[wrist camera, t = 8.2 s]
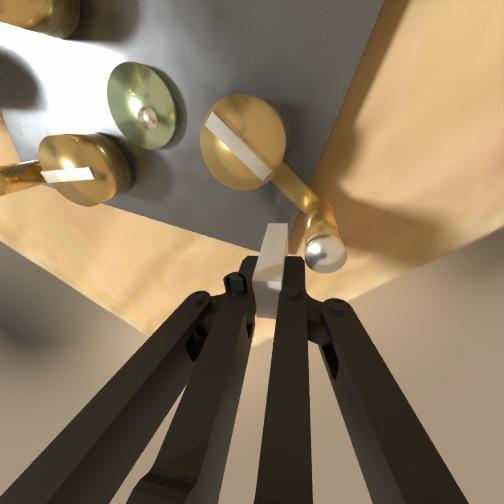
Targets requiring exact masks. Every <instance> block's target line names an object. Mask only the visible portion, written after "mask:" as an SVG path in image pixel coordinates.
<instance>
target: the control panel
mask: <svg viewBox="0 0 504 504" xmlns="http://www.w3.org/2000/svg"><path fill="white" fill-rule="evenodd" d="M80 3H81V9H80V18H79V22H78V25H77V27H76V29H75V31H74V32H73V33H72V34H71V35H70V36H69V37H67V38H63V39H56V38H51V37H48V36H45V35H41V34H38V33H34V32H31V31H28V30H24V29H21V28H18V27H14V26H11V25H7V24H4V23H1V22H0V112H1V114H2V117H3V119H4V122H5V124H6V127H7V129H8V132H9V134H10V137H11V139H12V141H13V144H14V146H15V149H16V151H17V154H18V156H19V159H20V161H21V162H26V161H32V160H38V161H39V157H38V148H39V144H40V142H41V141H42V139H44V138H45V137H47V136H51V135H61V134H72V133H82V132H96V133H99V134H102V135H104V136H105V137H107V138H109V139H110V140H111V141H112V142H114V143H115V144H116V145H117V146H118V148H119V149H120V150H121V151H122V153H123V154H124V156H125V158H126V159H127V162H128V164H129V167H130V171H131V183H130V186H129V188H128V189H127V190H126V191H125V192H124V193H122V194H119V195H117V196H115V197H113V198H111V199H109V200H106V201H104V202H102V203H103V204H106V205H109V206H113V207H116V208H119V209H122V210H125V211H129V212H132V213H135V214H138V215H141V216H145V217H148V218H151V219H154V220H157V221H161V222H164V223H167V224H170V225H173V226H177V227H180V228H183V229H186V230H189V231H193V232H196V233H199V234H202V235H206V236H209V237H212V238H215V239H218V240H222V241H225V242H228V243H231V244H234V245H238V246H241V247H244V248H247V249H250V250H254V251H257V252H260V250H261V247H262V243H263V240H264V236H265V233H266V230H267V226H268V223H288V238H289V236H290V233H291V231H292V228H293V226H294V223H295V221H296V219H297V216H298V214H299V211H300V209H299V208H298V207H297V206H296V205H295V204H294V203H293V202H292V201H291V200H290V199H289V198H288V197H287V196H286V195H285V194H284V193H283V192H282V191H281V190H280V189H279V188H278V187H277V186H276V185H275V184H274V183H273V182H272V181H271V180H269V181H268V182H267V183H266V184H264V185H263V186H261V187H259V188H256V189H253V190H246V191H243V190H235V189H232V188H229V187H227V186H225V185H224V184H222V183H221V182H219V181H218V180H217V179H216V178H215V177H214V176H213V175H212V174H211V172H210V171H209V169H208V168H207V166H206V164H205V162H204V159H203V157H202V153H201V148H200V131H201V127H202V123H203V120H204V118H205V116H206V114H207V113H208V111H209V110H210V108H211V107H212V106H213V105H214V104H215V103H216V102H218V101H219V100H221V99H222V98H224V97H227V96H229V95H234V94H246V95H250V96H254V97H257V98H260V99H263V100H265V101H267V102H269V103H270V104H271V105H273V106H274V107H275V108H276V109H277V111H278V112H279V113H280V115H281V117H282V118H283V121H284V123H285V127H286V131H287V146H286V151H285V154H284V157H283V160H284V161H285V162H286V163H287V164H288V165H289V166H290V167H291V169H292V170H293V171H294V172H295V173H296V174H297V175H298V176H299V177H300V178H301V179H302V180H303V181H304V182H305V183H306V184H307V185H308V186H310V184H311V181H312V179H313V176H314V174H315V171H316V169H317V166H318V164H319V161H320V159H321V156H322V154H323V152H324V149H325V147H326V144H327V142H328V139H329V137H330V134H331V132H332V129H333V127H334V124H335V122H336V119H337V117H338V114H339V112H340V109H341V107H342V104H343V102H344V99H345V97H346V94H347V92H348V90H349V87H350V85H351V82H352V80H353V77H354V75H355V72H356V70H357V67H358V65H359V62H360V60H361V57H362V55H363V52H364V50H365V47H366V45H367V42H368V40H369V37H370V35H371V32H372V30H373V27H374V25H375V23H376V20H377V18H378V15H379V13H380V10H381V8H382V5H383V3H384V0H80ZM42 185H45V186H48V187H52V188H55V187H54V186H53V185H52V184H51V183H46V184H42ZM55 189H56V188H55Z"/></svg>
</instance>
